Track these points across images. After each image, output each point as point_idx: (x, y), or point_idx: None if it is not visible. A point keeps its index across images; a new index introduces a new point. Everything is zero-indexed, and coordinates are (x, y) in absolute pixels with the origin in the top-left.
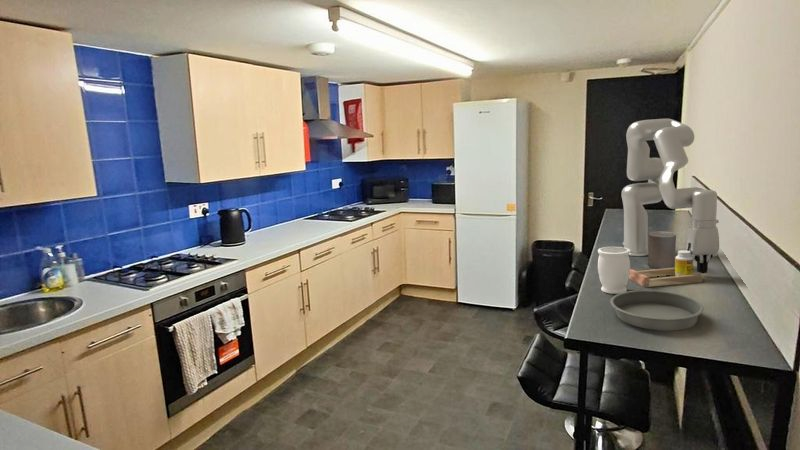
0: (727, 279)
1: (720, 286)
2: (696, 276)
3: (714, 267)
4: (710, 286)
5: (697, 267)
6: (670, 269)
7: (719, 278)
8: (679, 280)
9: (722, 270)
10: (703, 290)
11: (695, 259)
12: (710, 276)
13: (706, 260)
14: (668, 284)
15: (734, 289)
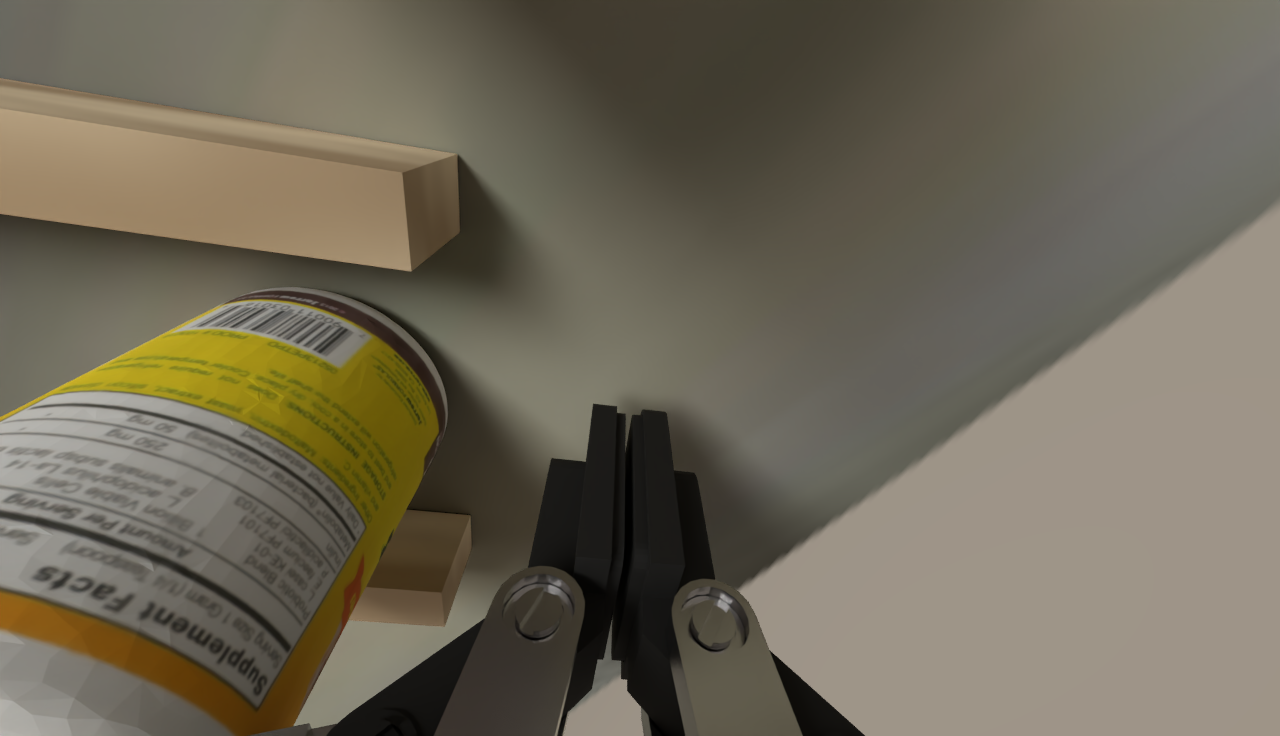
0: (757, 570)
1: None
2: (365, 611)
3: (1262, 117)
4: (456, 637)
5: (543, 499)
6: (55, 216)
7: (724, 530)
8: None
9: (1109, 322)
10: (338, 673)
11: (419, 695)
12: (709, 453)
13: (643, 725)
14: None
15: (574, 707)
